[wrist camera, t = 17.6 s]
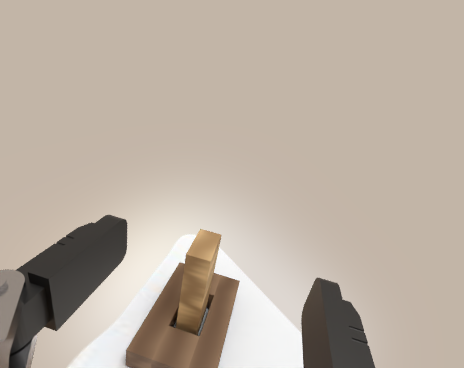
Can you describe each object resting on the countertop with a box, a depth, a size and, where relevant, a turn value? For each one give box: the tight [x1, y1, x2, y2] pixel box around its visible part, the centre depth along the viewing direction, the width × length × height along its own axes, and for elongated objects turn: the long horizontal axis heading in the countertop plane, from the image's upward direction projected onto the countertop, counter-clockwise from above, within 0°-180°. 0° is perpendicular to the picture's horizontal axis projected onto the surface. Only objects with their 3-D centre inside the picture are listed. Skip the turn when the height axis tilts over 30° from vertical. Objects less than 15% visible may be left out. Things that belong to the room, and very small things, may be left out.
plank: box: [176, 229, 221, 335], centre depth 35 cm, size 3×6×15 cm, turn 169°
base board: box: [126, 263, 240, 368], centre depth 37 cm, size 11×16×3 cm
